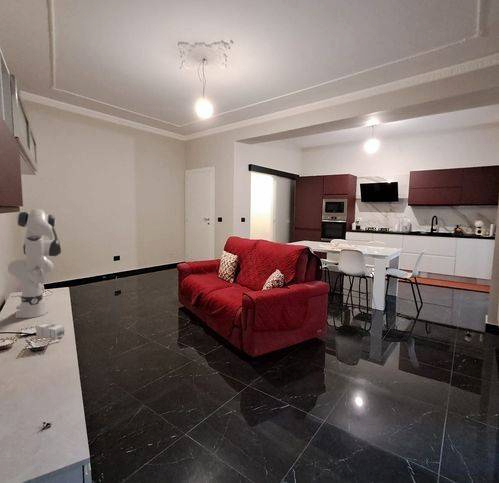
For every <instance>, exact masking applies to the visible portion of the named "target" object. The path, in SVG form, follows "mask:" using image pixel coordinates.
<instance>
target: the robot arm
mask: <svg viewBox="0 0 499 483" xmlns="http://www.w3.org/2000/svg"><path fill="white" fill-rule="evenodd" d="M16 223H17V225H18V226H19V227H20V228H21V227H22V228H27V229H26V231H25V235H24V240H23V241H24V242H23V246H22V247H23V248H22V249H23V254H24V255H25V259H19V260H18V259H17V260H12V261H11V262H10V263H9V264H8V266H7V272H8V273H9V274H10V275H11V276H13V277H15V279H17V280H18V282H19V283H20V286H21V297H20V299H21V300H20V303H19V305H16V310H15V318H16V319H29V318H31V319H32V318H38V317H40V316H43V315H44V314H47V313H49V310H48V309H46V301H45V300H44V298H43V297H44V296H43V293H42V292H43V291H42V290H43V288H42V286H43V285H42V284H44V283H45V276H46V275H49V274H51V273H52V272H53V271H54V267H55V266H54V263H53V262H52V261H51V260H50V259H49V258H47V257H57V256H58V255H60V254H62V244H61V243H60V240H59V237H58V235H57V232H56V228H55V226H56V224H57V220H56V217H55V216H54V215H53V214H48V213H47V214H46V212H45V211H44V210H43V209H39V208H35V209H32V210H31V211H30V212H29V211H20V212H19V213H18V214H17V216H16ZM45 237H48V238H49V239H48V240H47V239H46V240H45Z"/></svg>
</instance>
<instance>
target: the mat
mask: <svg viewBox="0 0 499 483" xmlns="http://www.w3.org/2000/svg"><path fill="white" fill-rule="evenodd" d="M36 338H48V337H42V336H37V335H35V336H30V337H26V338H25V339H26V341H27V342H28V343H29V342H30V341H31V340H33V339H36ZM56 343H57V344H58V343H61V340H59V338H57V339H54V338H51V342H50V343H49V344H50V345H53V344H56Z"/></svg>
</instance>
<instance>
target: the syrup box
mask: <svg viewBox="0 0 499 483" xmlns="http://www.w3.org/2000/svg"><path fill="white" fill-rule="evenodd" d="M64 335H65V327H64V325H58V324H52V323H42V324H39V325H36V326H35V336H42V337H48V338H54V339H59V338H60V337H63V336H64Z"/></svg>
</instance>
